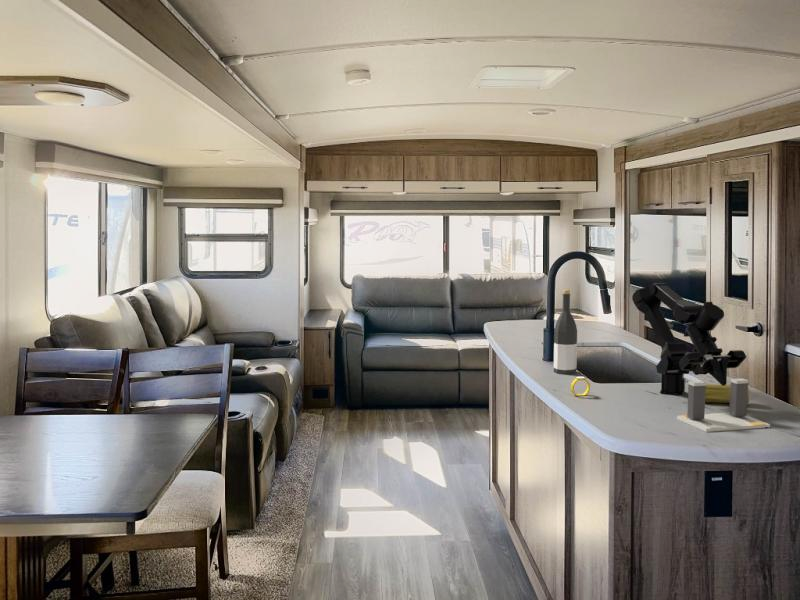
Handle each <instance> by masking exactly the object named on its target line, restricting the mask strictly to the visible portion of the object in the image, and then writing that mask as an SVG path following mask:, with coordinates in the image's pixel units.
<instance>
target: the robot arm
mask: <svg viewBox="0 0 800 600" xmlns="http://www.w3.org/2000/svg"><path fill="white" fill-rule="evenodd" d="M631 299H632V303H633V304H634V306H635V307H636V308H637V310H638V311H639V312H641V313H642V314H644V315H645V316H646V319H647V321H648V322H649V324H650V326H651V328H652V331H653V332H654V335H655V338H656V339H657V341H658V344H659V345H660V348H661V352H660V357H659V358H660V360H659V362H658V363H657V364H656V366H655V367H656V373H657V374H660V375H661V385H660V386H661V387H660V391H659V393H660V394H665V393H666V394H667V395H676V396H682V395H683V394H684V393H685V391H686V377H685V376H684V375H689V374H690V372H692V373H693V375H695V376H699V375H704V376H705V375H707V374H709V375H710V376H711V377H713V378H714V379H715V380H716V381H717V382H718V384H719V385H722V386H724V385H728V384H727V382H728V381H727V379H728V378H727V374H728V369H736V368H738V367H740V365H741V364H742V363H743V362H744V361H745V360H746V359H747V355H746V354H745V351H744V350H741V349H736V350H735V349H734V350H733V349H732V350H729V351H728V352H727V354H723V355H722V353H723V351H724V350H723V349H722V348H718V345H717V343H716V342H717V341H718V339H717V337H716V336H712V334H711V331H713V330H715V329H716V327H717V326H718V325H719V323H720V322H721V320H722V319H723V318H724V317H725V312H724V310H723V309H722V308H720V307H719V306H718V305H715V304H713V303H714V302H712V301H705V302H704V303H703V305H700V304H697V303H696V302H693V301H687V300H685V299H684V298H683V297H682V296H681V295H680V294H678V293H677V292H675V291H674V290H673V289H672V288H670V286H669V285H668V284H667V283H665V282H653V283H652V284H649V285H648V286H645V287H642V288H639V289H636V290H635V291H634V292H633V294H632V297H631ZM662 303H663V304H664V305H665V306H666V307H668V309H670V310H671V311H672V312H673V313H672V314H673V317H674V319H675V320H676V321H677V323H678V324H680V325H688V327H685V331H684V332H683V337H684V338H686V337H689V339H690V341H691V343H692V345H693V347H692V351H689V349H688V347H687V345H686V343H684V342H683V343H682V342H681V343H678V342H677V340H676V338H675V336H674V334H673V332H672V330H671V328H670V326H669V324H668V321H667V320H666V318H665V316H664V314H663V312H662V310H661V306H662V305H661V304H662ZM682 393H683V394H682Z"/></svg>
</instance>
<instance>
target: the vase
mask: <svg viewBox="0 0 800 600" xmlns="http://www.w3.org/2000/svg"><path fill="white" fill-rule="evenodd" d="M730 389H731V384H726V385H724V386H722V385H721V384H707V383H706V388H705V403H716V404H730ZM749 403H750V389H749V387H748V395H747V406H748V405H749Z"/></svg>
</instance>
